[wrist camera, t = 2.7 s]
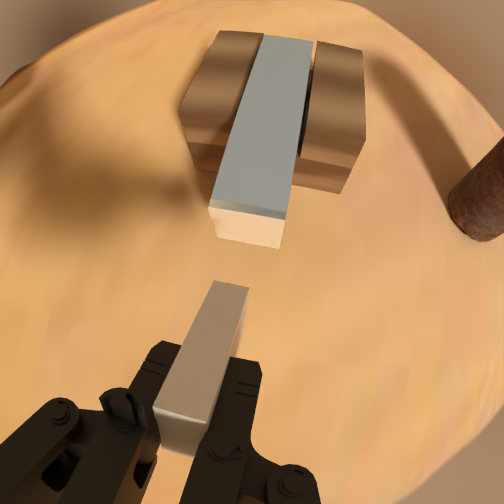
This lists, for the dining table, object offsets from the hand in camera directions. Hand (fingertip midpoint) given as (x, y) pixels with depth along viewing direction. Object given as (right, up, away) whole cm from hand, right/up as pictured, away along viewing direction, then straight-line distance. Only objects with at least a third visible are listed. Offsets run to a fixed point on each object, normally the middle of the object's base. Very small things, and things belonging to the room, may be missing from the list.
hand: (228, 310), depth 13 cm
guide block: (+4, +15, +17) cm, 23 cm away
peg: (+3, +12, +11) cm, 16 cm away
